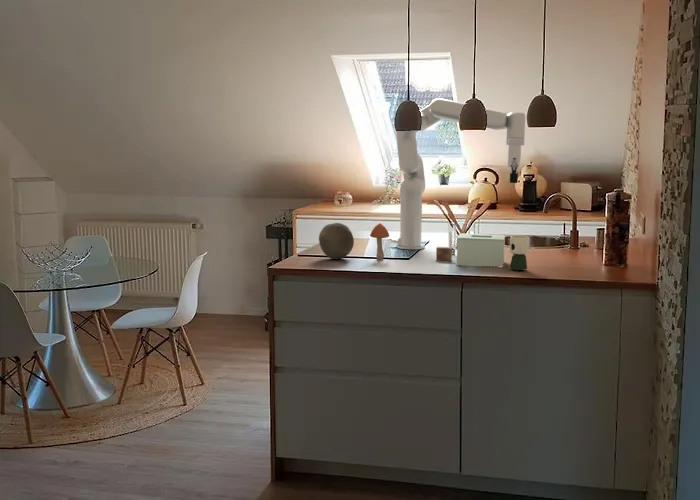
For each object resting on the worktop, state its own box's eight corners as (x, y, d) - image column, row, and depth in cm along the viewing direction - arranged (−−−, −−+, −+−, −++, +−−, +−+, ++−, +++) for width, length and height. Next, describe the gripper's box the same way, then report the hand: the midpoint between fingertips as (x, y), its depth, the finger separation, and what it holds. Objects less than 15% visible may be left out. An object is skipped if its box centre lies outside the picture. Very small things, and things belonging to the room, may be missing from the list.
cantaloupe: (320, 256, 336) (320, 220, 333) (354, 257, 335) (354, 221, 333) (317, 262, 322) (317, 225, 319) (352, 263, 321) (352, 225, 319)
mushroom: (371, 261, 325) (372, 224, 323) (368, 258, 333) (368, 222, 331) (390, 261, 326) (391, 224, 324) (386, 257, 334) (387, 221, 332)
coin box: (456, 265, 318) (457, 237, 316) (459, 259, 330) (460, 233, 328) (502, 267, 314) (504, 239, 312) (503, 261, 326) (505, 235, 325)
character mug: (506, 267, 314) (508, 234, 312) (525, 267, 314) (526, 234, 311) (511, 272, 303) (512, 238, 301) (530, 273, 303) (532, 238, 301)
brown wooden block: (436, 261, 327) (436, 247, 326) (436, 260, 330) (437, 246, 329) (450, 261, 326) (451, 248, 325) (451, 260, 329) (451, 247, 328)
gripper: (506, 141, 352) (505, 180, 355) (505, 142, 335) (504, 183, 338) (524, 141, 351) (522, 180, 353) (524, 142, 334) (522, 183, 337)
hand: (513, 182), depth 346 cm, fingers open, 9 cm apart
